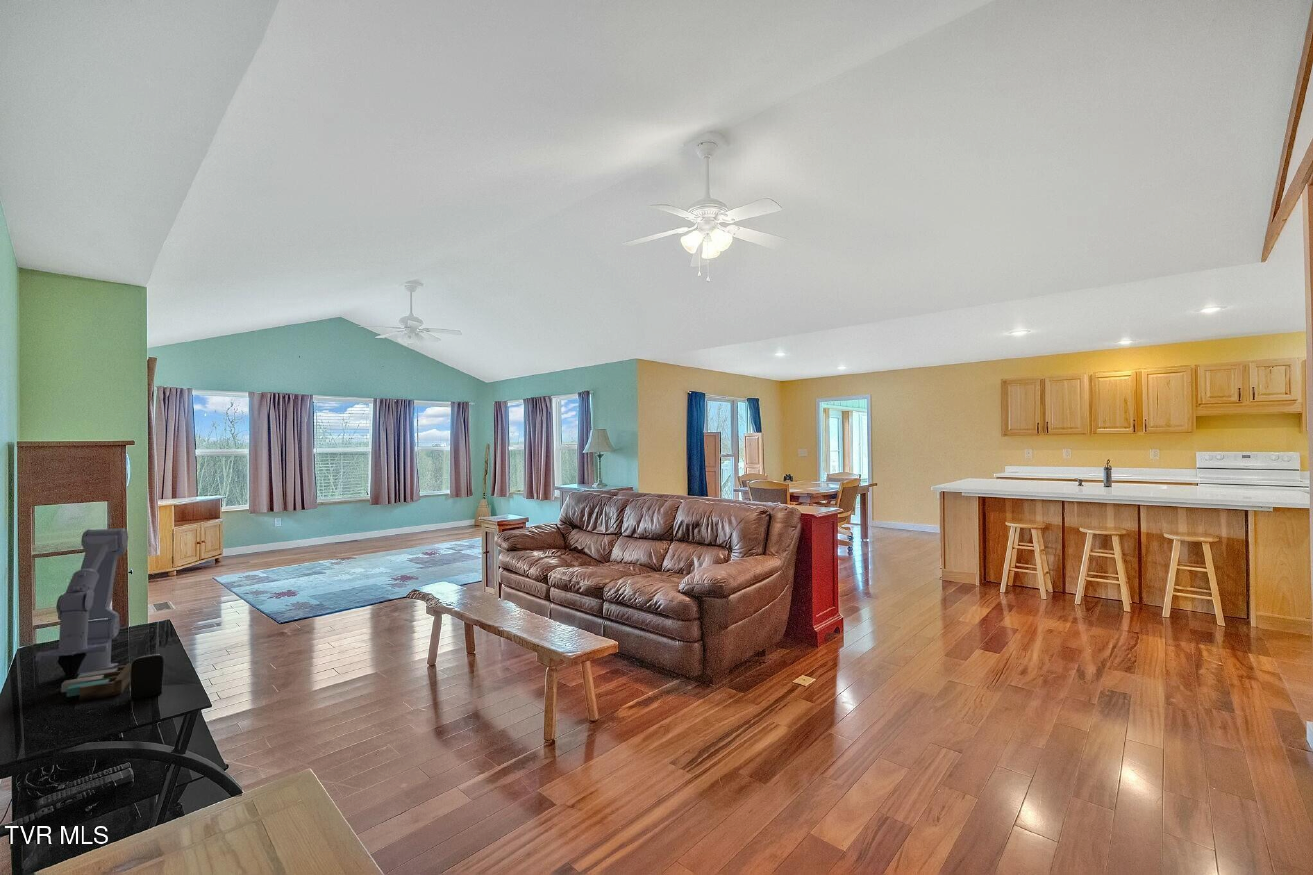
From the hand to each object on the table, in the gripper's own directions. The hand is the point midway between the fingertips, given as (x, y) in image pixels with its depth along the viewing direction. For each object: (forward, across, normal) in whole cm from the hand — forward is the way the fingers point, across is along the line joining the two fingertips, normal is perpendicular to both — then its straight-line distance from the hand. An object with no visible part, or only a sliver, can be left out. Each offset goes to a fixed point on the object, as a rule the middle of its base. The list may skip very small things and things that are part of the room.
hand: (71, 680), depth 162 cm
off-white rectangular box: (+1, +3, -5) cm, 6 cm away
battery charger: (+2, +19, -19) cm, 27 cm away
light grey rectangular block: (+1, +6, 0) cm, 6 cm away
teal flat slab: (+1, +6, -10) cm, 12 cm away
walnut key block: (+2, +8, -5) cm, 10 cm away
